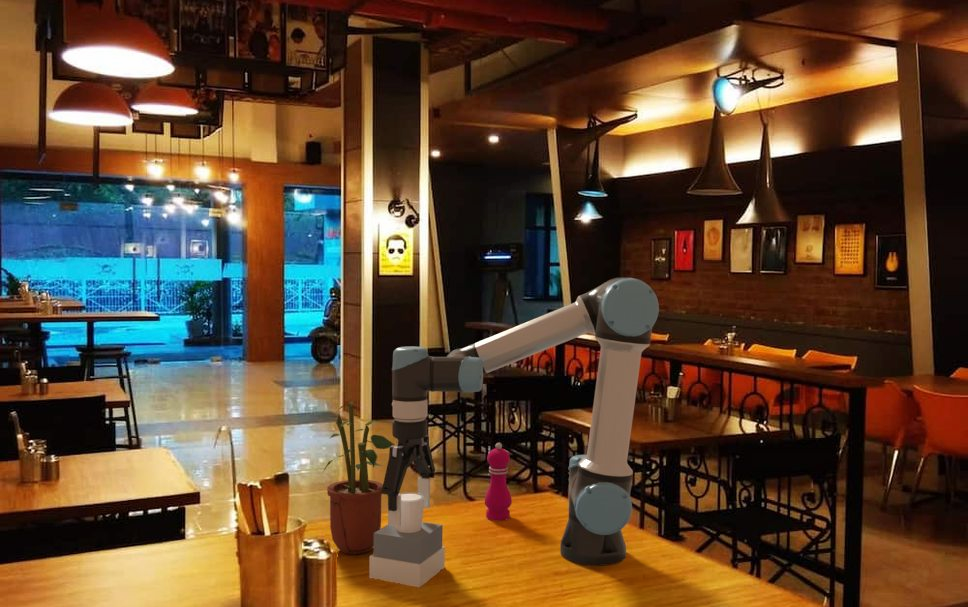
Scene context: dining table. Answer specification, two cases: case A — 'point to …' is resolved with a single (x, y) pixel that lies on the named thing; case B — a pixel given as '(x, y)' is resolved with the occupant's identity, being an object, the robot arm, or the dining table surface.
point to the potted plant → (356, 493)
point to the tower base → (407, 569)
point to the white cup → (411, 512)
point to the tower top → (408, 543)
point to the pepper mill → (498, 485)
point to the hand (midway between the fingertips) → (409, 515)
